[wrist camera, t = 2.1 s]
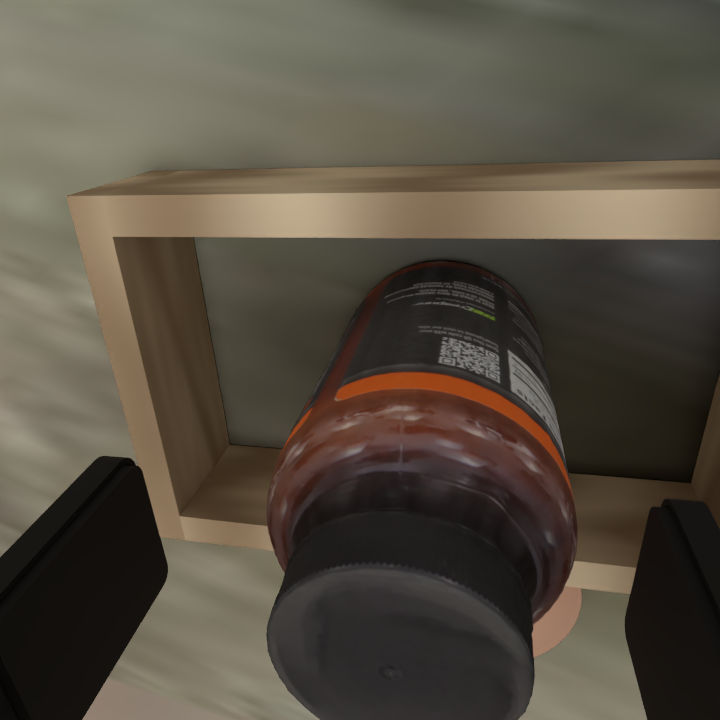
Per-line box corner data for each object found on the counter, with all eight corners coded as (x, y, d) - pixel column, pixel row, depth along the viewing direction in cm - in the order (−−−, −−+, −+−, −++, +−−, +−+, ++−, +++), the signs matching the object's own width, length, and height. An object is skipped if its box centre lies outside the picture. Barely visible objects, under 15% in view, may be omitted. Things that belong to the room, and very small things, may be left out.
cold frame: (821, 157, 14) (930, 186, 10) (717, 510, 19) (769, 611, 15) (151, 171, 18) (66, 195, 14) (209, 463, 22) (157, 536, 19)
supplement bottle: (377, 434, 20) (266, 783, 10) (330, 275, 18) (130, 528, 8) (554, 414, 18) (625, 810, 9) (527, 235, 16) (582, 495, 6)
